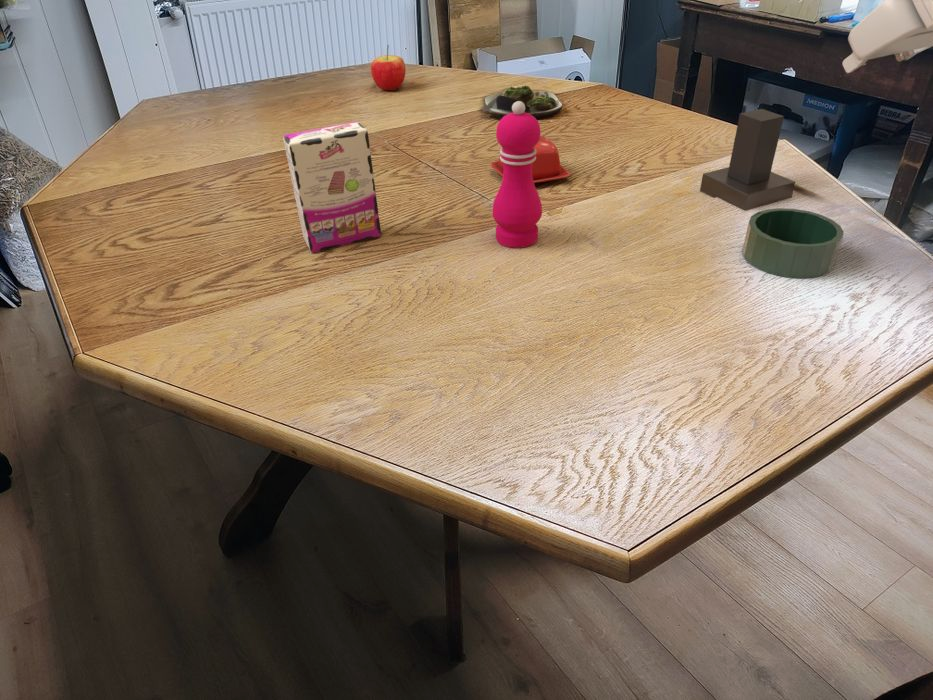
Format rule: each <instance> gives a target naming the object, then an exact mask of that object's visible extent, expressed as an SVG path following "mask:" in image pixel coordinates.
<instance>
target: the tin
mask: <svg viewBox="0 0 933 700" xmlns="http://www.w3.org/2000/svg"><path fill="white" fill-rule="evenodd" d="M745 232H746V233H745V236H744V242H743V245H742V249H741V252H742V256H743V258H744V260H745V261H746V262H747V264H749V265H751V266H752V267H754V268H755V269H757V270H759V271H761V272H764V273H766V274H770V275H773V276H777V277H780V278H788V279H802V280H803V279H805V280H806V279H814V278H819V277H822V276H825V275H827V274H828V273H830V272H831V271H832V270H834V269H833V268H834V266H835V263H836V260H837V257H838V254H839V251H840V247H841V244H842V241H843V238H844V229H843V228H842V227H841V225H840V224H838V223H837V222H836V221H835V220H834V219H831V218H829V217H827V216H825V215H823V214H820V213H816V212H813V211H810V210H804V209H799V208H788V207H787V208H784V207H777V208H776V207H775V208H768V209H764V210H761V211H760V210H759V211H757V212H755V213H754V214H752V215H751V216H750V218H749V221H748V223H747V228H746V231H745Z"/></svg>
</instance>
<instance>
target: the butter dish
mask: <svg viewBox="0 0 933 700" xmlns="http://www.w3.org/2000/svg"><path fill="white" fill-rule="evenodd" d="M534 148H535V149H536V154H535V156H536V160H535V161H534V162H533V165H532V177H533V182H534V184H538V183H545V182H546V183H547V182H551V181H556V180H561V179H565V178H568V177H570V176H571V173H570V172H569V171H568V170H567V169H566V168H565V167H564V166H563V165H561V160H560V154H559V150H558V148H557V145H556V144H554V142H553V141H551V139H549V138H547V137H546V136H544V135H541V134H540V139H539V141H538V143H537V144H536V145H535V146H534ZM500 156H501V154H500V153H499V159H498V160H495V161H492V162H490V166H491V168H492V169H494V170H495V171H496V172H497V173H498V174H499V175H500V176H501V177H502V178H503V171H504V168H503V162H502V161H501V160H500Z"/></svg>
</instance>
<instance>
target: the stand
mask: <svg viewBox="0 0 933 700" xmlns="http://www.w3.org/2000/svg"><path fill="white" fill-rule="evenodd" d="M728 170H729V166H728V167H724V168H720V169H715V170H712V171H708V172H704V173H702V177H701V183H700V188H699V189H700V190H699V191H700V192H702V193H704V194H706V195H708V196H709V197H712V198H714V199H716V198H717V199H720V200H721V201H724V202H725V203H728V204H730V205H731V206H734V207H736V208H738V209H740V210H742V211H745V212H746V211H749V210H752V209H756V208H760V207H763V206H767V205H771V204H774V203H778V202H781V201H785V200H787V199H792V196H793V193H794V189H795V186H796V181H794V180H792V179H790V178H788V177H786V176H782V175H780V174H778V173H775V172H773V171H771V173H770V177H769V179H768V180H764V181H760V182H756V183H753V184H749V185H747V184H745V183H743V182H741V181H738V180H736V179H734V178H732V177H730V176H728Z"/></svg>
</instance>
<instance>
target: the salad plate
mask: <svg viewBox="0 0 933 700" xmlns="http://www.w3.org/2000/svg"><path fill="white" fill-rule="evenodd" d="M517 101H521V102H523V103H524V105H525V111H524V112H525V113H528V114H530V115H532V116H533V117H535V118H536V120H537V121H538V120H545V119H550V118H553V117H554V118H555V116H557V114H559V113H560V112H561V110H562V109H563V104H562V102H561V101H560V99H559V98H558V96H557V95H556V94H555V93H553V92H551V91H550V92H549V91H543V90H533V89H532V88H531V87H530V86H529V85H526V84H524V85H522V86H521V87H519V86H518V85H517V84H514V85H513V86H510V87H507V88H506V89H505V90H503V92H500V93H494V94H491V95H488V96H485V99H484V102H485V105H484V106H483V108H481V110H482V111H483V112H485V113H487V114H490V115H491V116H492V117H493V118H494V117H495V119H497V120H499V121H500V120H501V119H502V118H503V117H504V116H505V115H507V114H509V113H513V111H512V105H513V104H514V103H515V102H517Z"/></svg>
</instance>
